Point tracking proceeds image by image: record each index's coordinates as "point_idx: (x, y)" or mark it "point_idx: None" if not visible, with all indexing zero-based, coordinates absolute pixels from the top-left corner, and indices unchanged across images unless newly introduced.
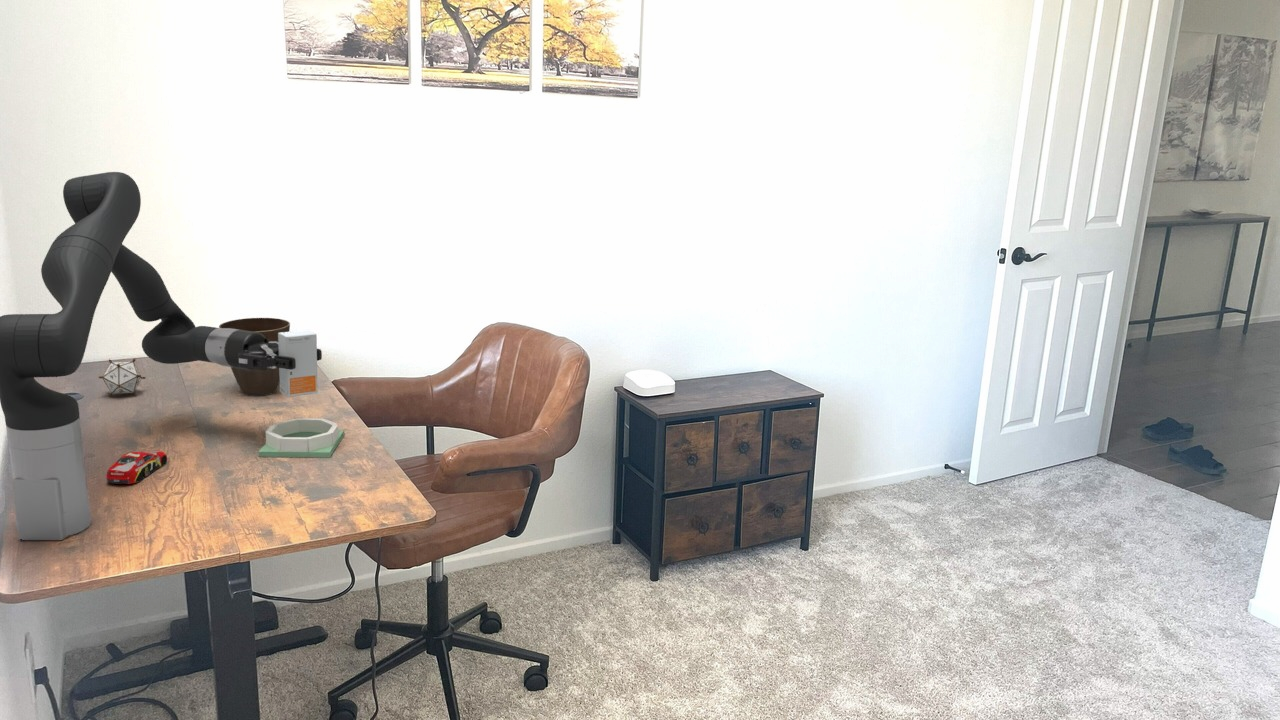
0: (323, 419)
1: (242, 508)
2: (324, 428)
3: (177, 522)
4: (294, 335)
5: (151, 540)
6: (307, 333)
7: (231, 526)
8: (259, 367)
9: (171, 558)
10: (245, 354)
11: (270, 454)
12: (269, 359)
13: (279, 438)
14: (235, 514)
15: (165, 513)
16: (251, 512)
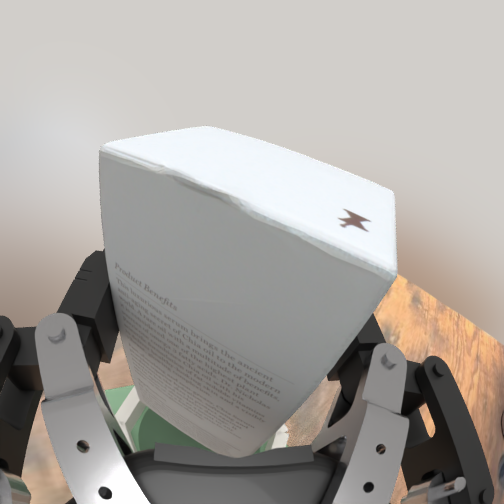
0: (117, 418)
1: (415, 348)
2: (135, 416)
3: (461, 369)
4: (331, 166)
5: (477, 357)
6: (232, 136)
7: (433, 329)
8: (418, 408)
9: (469, 326)
10: (478, 473)
11: None
12: (407, 361)
13: (287, 434)
14: (424, 343)
15: (464, 394)
16: (412, 335)
